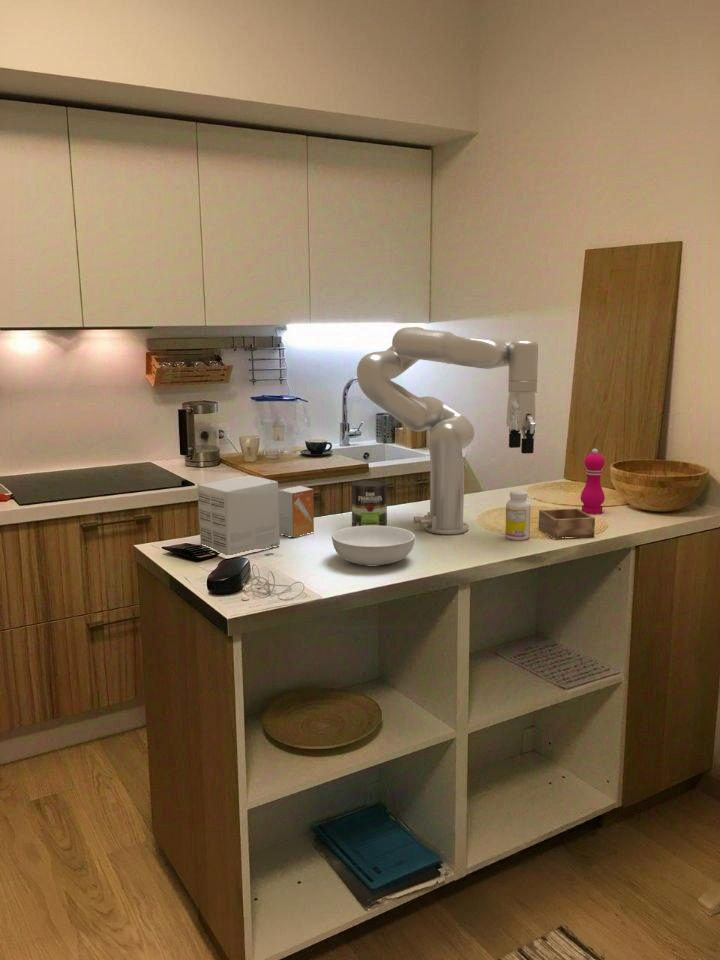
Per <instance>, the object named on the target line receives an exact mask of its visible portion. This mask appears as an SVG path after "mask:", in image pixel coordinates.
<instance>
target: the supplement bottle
mask: <svg viewBox="0 0 720 960" xmlns="http://www.w3.org/2000/svg"><path fill="white" fill-rule="evenodd" d="M509 492H510V493H509V498H510V500H508V501H507V502H505V503H506V504H505V537H506V538H507V539H509V540H511V541H512V540H513V541H524V540H528V539H529V538H530V534H531V503H530V502H529V501H528V500H527V498H528V492H527V491H525V490H512V491H509Z"/></svg>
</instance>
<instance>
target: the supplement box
mask: <svg viewBox="0 0 720 960" xmlns="http://www.w3.org/2000/svg"><path fill="white" fill-rule="evenodd" d="M196 487H197V502H198V520H199V534H200V535H199V536H200V538H199V539H200V540H199V541H200V545H201V544H203V545H206V546H208V547H211V548H213V549H215V550H217V551H218V552H220V553H223V554H225V555H233V554H237V553H240V552H245V551H249V550H254V549H266V548H270V547H273V546H278V545H280V546H281V538H280V536H281V535H280V533H279V501H278V490H279V482H278V481H277V480H272V479H270V478H269V479H268V478H265V477H260V476H256V475H249V474H247V475H244V476H239V477H234V478H233V477H232V478H228V479H222V480H218V481H212V482H207V483H201V484H197V485H196Z"/></svg>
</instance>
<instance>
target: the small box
mask: <svg viewBox="0 0 720 960" xmlns="http://www.w3.org/2000/svg"><path fill="white" fill-rule="evenodd" d="M278 501H279V533H280V534H283V535H287V536H291V537H295V538H297V537H296V536H299V537H301V536H300V535H303V534H307V533H311V532H315V525H314V523H315V521H314V513H315V512H314V510H315V509H314V506H315V505H314V488H310V487H306V486H302V485H297V486H293V487H287V488H283V489H278ZM283 535H282V536H283ZM287 536H286V537H287ZM303 536H304V535H303Z"/></svg>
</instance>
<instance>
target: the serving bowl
mask: <svg viewBox="0 0 720 960" xmlns="http://www.w3.org/2000/svg"><path fill="white" fill-rule="evenodd" d="M415 540H416V535H415V533H414V532H412V531H410V530H409V529H405V528H401V527H397V526H389V525H387V526H378V525H366V526H354V527H352V526H349V527H345V528H341V529H338V530H336V531H333V533H332V535H331V541H332V545H333V548H334V550H335V552H336V553H337V554H338V555H339V556H340V557H341V558H342V559H344V560H345V561H347V562H350V563H353V564H357V565H361V564H362V565H361V566H366V565H381V566H385V565H384V564H386V565H389V564H393V563H396V562H398V561H401V560H403V559H405V558H406V557H407V556H408V555H409V554H410V553H411V552H412V549H413V547H414V545H415Z"/></svg>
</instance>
